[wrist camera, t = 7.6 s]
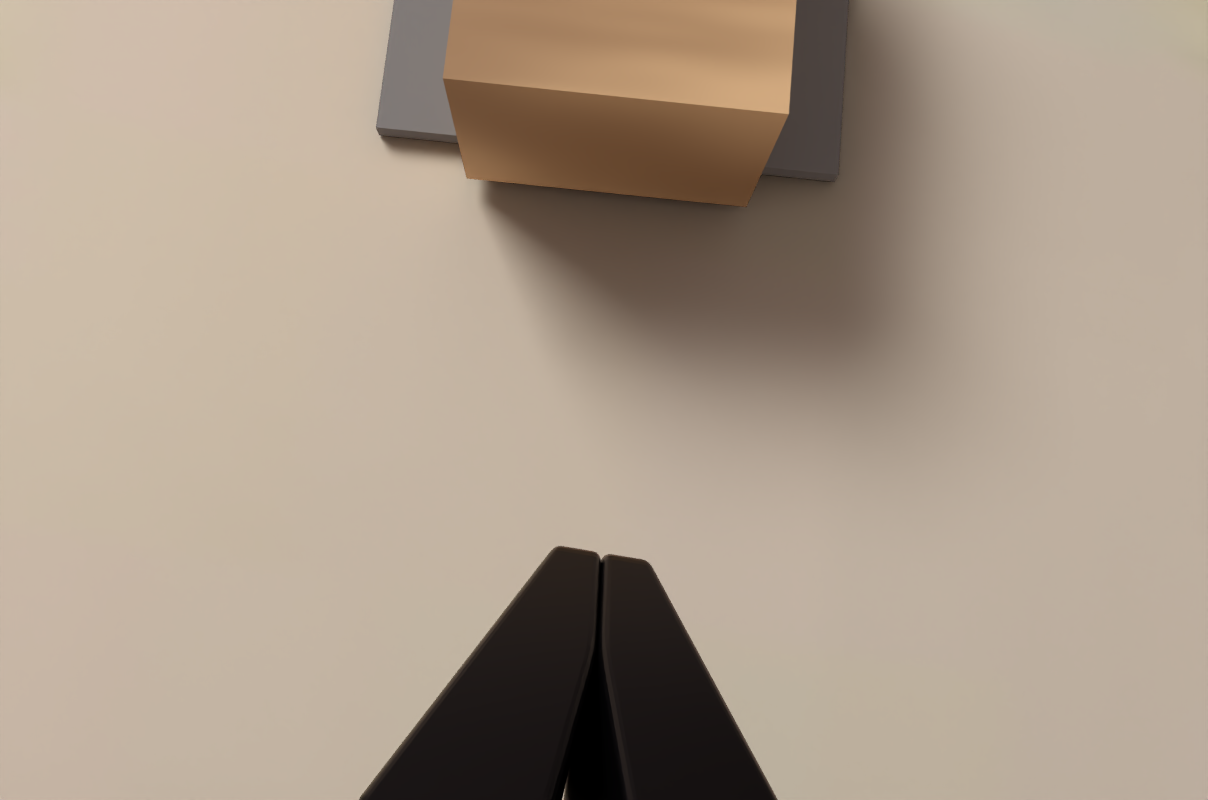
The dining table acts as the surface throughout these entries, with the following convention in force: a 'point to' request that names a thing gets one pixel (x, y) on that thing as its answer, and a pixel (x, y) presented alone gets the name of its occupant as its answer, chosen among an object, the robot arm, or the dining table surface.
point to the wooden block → (621, 93)
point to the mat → (799, 152)
